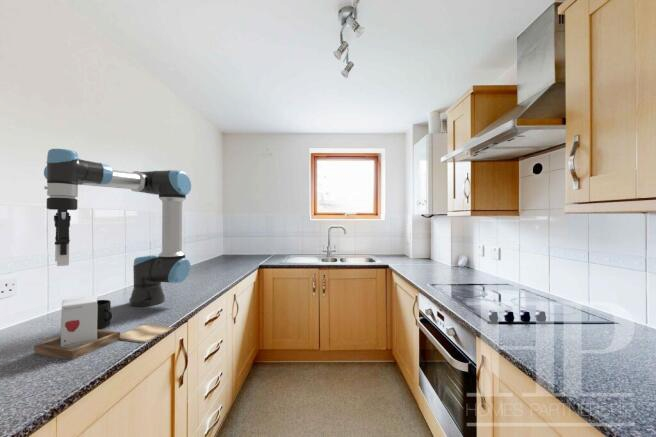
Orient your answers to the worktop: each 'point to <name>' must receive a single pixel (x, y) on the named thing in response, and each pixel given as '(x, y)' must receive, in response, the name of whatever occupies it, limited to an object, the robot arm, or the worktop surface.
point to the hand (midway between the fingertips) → (61, 263)
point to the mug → (103, 313)
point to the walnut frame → (53, 350)
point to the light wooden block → (145, 333)
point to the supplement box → (78, 322)
